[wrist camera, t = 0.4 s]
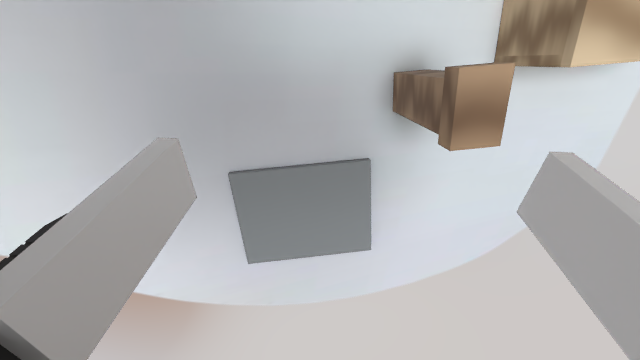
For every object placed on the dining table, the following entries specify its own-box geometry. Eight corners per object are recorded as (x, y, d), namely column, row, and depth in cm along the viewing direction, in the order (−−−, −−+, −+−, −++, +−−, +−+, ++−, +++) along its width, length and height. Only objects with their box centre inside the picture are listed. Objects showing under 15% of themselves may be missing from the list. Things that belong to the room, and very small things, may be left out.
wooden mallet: (393, 65, 32) (459, 67, 19) (428, 62, 32) (515, 62, 19) (392, 117, 34) (450, 151, 22) (424, 114, 35) (500, 145, 22)
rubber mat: (229, 172, 35) (228, 174, 35) (368, 158, 36) (370, 160, 35) (249, 260, 41) (248, 263, 40) (369, 246, 42) (371, 249, 41)
